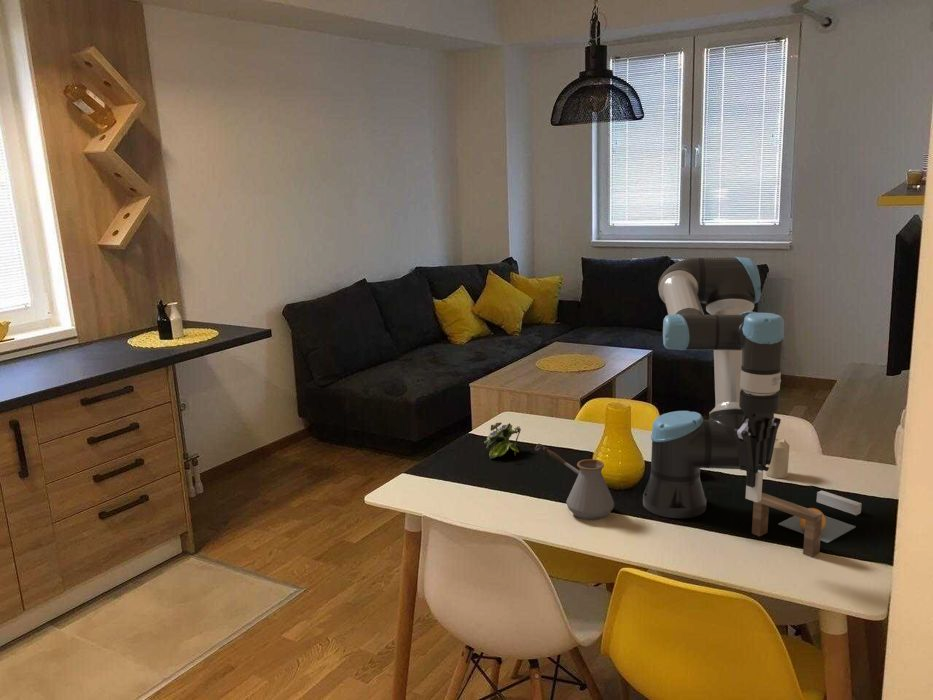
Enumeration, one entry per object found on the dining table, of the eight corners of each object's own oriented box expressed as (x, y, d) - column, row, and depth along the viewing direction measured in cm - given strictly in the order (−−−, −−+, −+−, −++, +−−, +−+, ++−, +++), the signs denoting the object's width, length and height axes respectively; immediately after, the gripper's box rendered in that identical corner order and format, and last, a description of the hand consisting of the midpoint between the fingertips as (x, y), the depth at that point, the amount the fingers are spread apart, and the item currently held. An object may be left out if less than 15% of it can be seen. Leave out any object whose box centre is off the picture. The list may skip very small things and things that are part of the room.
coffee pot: (622, 511, 193) (623, 453, 189) (598, 528, 184) (599, 468, 180) (549, 490, 206) (549, 436, 202) (524, 505, 197) (523, 449, 194)
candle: (783, 470, 214) (786, 436, 211) (790, 478, 208) (792, 443, 206) (763, 470, 214) (765, 435, 212) (768, 478, 209) (770, 443, 207)
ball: (807, 500, 181) (810, 518, 183) (792, 513, 179) (795, 531, 181) (829, 508, 176) (832, 527, 179) (814, 521, 174) (817, 541, 176)
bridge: (811, 557, 168) (814, 517, 166) (751, 533, 179) (753, 495, 177) (819, 553, 170) (822, 513, 167) (759, 529, 181) (761, 492, 179)
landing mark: (778, 524, 183) (778, 523, 183) (806, 510, 190) (806, 509, 190) (827, 543, 174) (827, 542, 174) (855, 527, 181) (855, 526, 181)
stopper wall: (816, 501, 194) (817, 492, 194) (820, 499, 195) (821, 490, 195) (856, 515, 186) (857, 505, 186) (860, 513, 188) (861, 503, 187)
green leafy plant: (496, 467, 237) (503, 429, 241) (526, 468, 230) (533, 429, 234) (474, 456, 229) (482, 417, 233) (504, 456, 222) (512, 416, 226)
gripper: (757, 401, 151) (750, 514, 157) (795, 388, 159) (787, 496, 165) (723, 393, 157) (718, 502, 163) (762, 380, 165) (755, 485, 170)
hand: (753, 499), depth 164 cm, fingers closed
